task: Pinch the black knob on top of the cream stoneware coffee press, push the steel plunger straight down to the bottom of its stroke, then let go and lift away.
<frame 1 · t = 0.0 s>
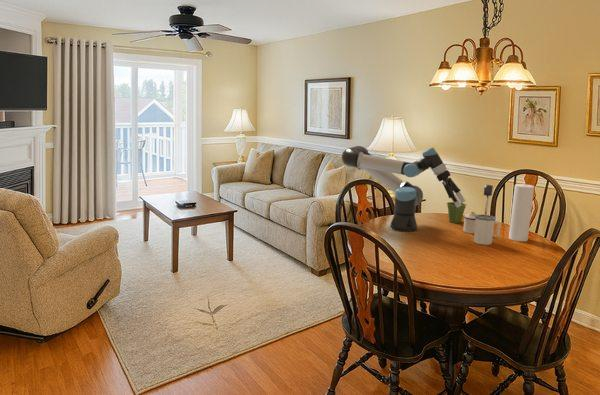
hand: (461, 204, 265), 15 cm above the table, tool tilted 35°, fingers open, 13 cm apart
plant pot: (454, 221, 288), on the table
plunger: (486, 204, 242), point 21 cm above the table, slide at 0.0 cm
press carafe: (482, 242, 246), on the table
teacup with lid: (470, 231, 267), on the table
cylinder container: (518, 239, 254), on the table
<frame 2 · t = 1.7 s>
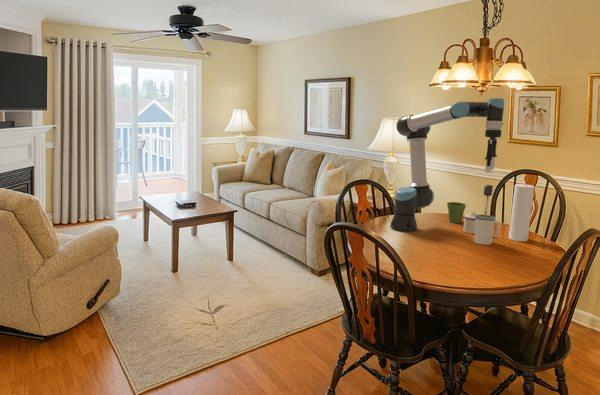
hand: (489, 171, 239), 38 cm above the table, tool pointing down, fingers open, 13 cm apart
nothing on the table moved.
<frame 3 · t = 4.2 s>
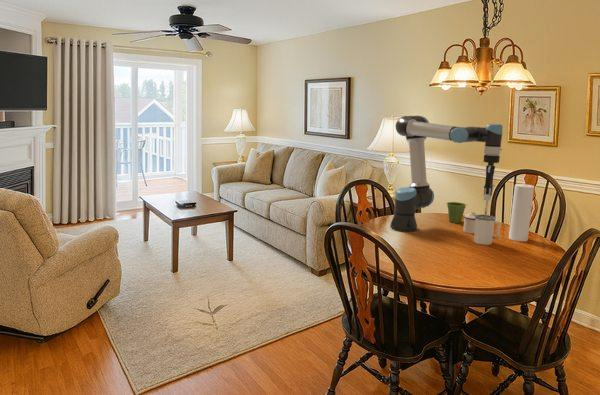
hand: (487, 199, 242), 23 cm above the table, tool pointing down, fingers closed on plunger, 4 cm apart
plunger: (486, 204, 242), point 21 cm above the table, slide at 0.0 cm, touching gripper
everything else where it was.
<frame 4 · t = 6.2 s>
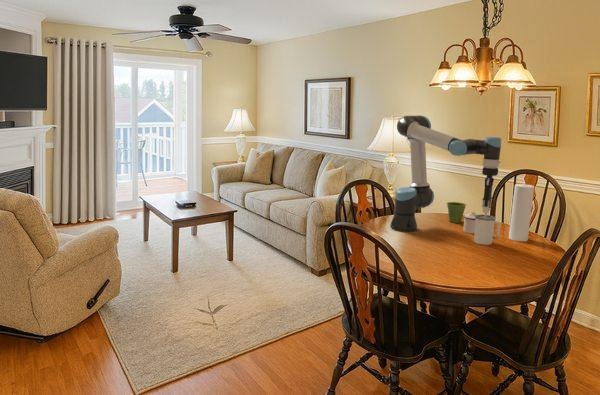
hand: (486, 211, 243), 17 cm above the table, tool pointing down, fingers closed on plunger, 4 cm apart
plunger: (485, 216, 244), point 14 cm above the table, slide at 6.5 cm, touching gripper
everything else where it was.
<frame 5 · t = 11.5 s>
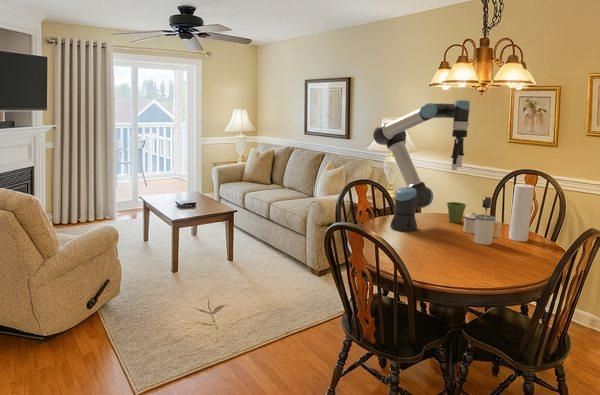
hand: (456, 168, 254), 37 cm above the table, tool pointing down, fingers open, 13 cm apart
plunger: (485, 216, 244), point 14 cm above the table, slide at 6.5 cm
everything else where it was.
at the end: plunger slide at 6.5 cm; the gripper is holding nothing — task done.
